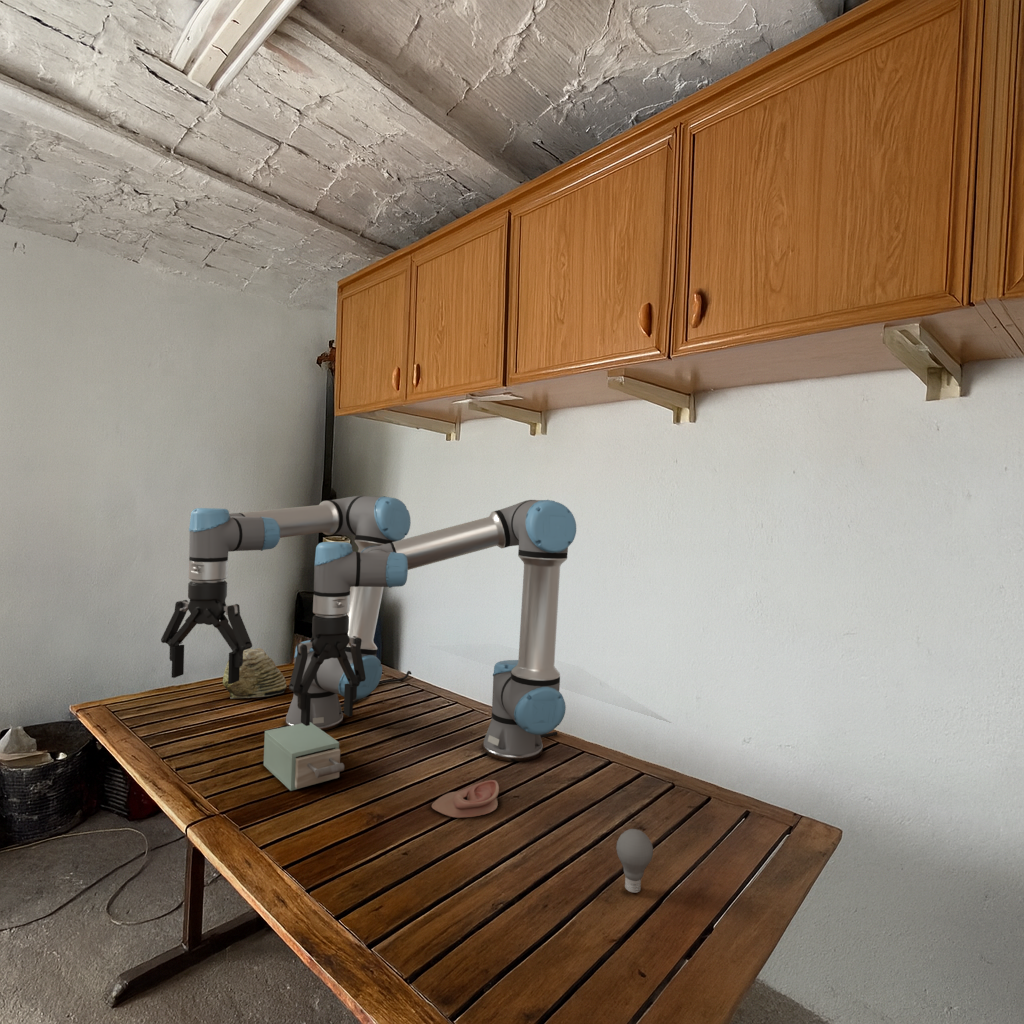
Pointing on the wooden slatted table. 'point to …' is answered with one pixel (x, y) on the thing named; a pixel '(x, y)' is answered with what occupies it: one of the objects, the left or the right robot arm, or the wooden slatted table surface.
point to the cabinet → (293, 749)
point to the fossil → (256, 676)
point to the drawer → (317, 767)
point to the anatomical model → (469, 800)
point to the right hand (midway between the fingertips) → (327, 719)
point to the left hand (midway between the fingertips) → (205, 679)
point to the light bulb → (634, 857)
